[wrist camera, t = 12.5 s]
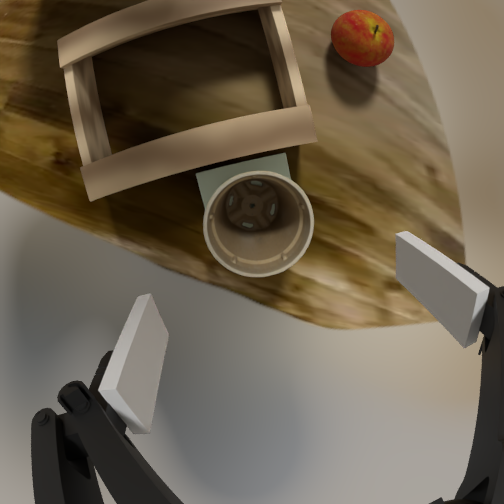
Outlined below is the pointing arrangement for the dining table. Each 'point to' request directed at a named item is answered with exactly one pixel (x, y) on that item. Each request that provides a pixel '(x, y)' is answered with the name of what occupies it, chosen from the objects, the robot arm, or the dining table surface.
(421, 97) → the dining table surface
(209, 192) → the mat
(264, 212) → the flower pot
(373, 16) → the fruit
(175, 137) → the crate
